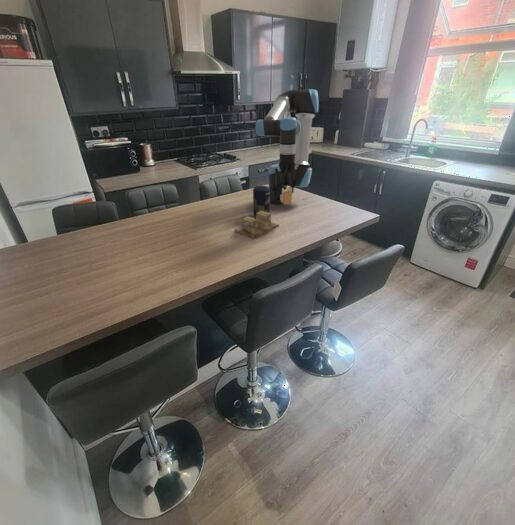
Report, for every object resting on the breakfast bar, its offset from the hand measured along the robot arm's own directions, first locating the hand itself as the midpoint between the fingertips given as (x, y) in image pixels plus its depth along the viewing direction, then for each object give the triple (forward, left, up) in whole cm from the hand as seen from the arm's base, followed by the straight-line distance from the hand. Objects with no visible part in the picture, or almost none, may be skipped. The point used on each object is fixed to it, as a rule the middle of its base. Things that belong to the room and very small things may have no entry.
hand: (285, 199), depth 153 cm
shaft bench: (+14, -8, -14) cm, 22 cm away
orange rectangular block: (0, 0, -1) cm, 1 cm away
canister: (-1, -18, -14) cm, 23 cm away
